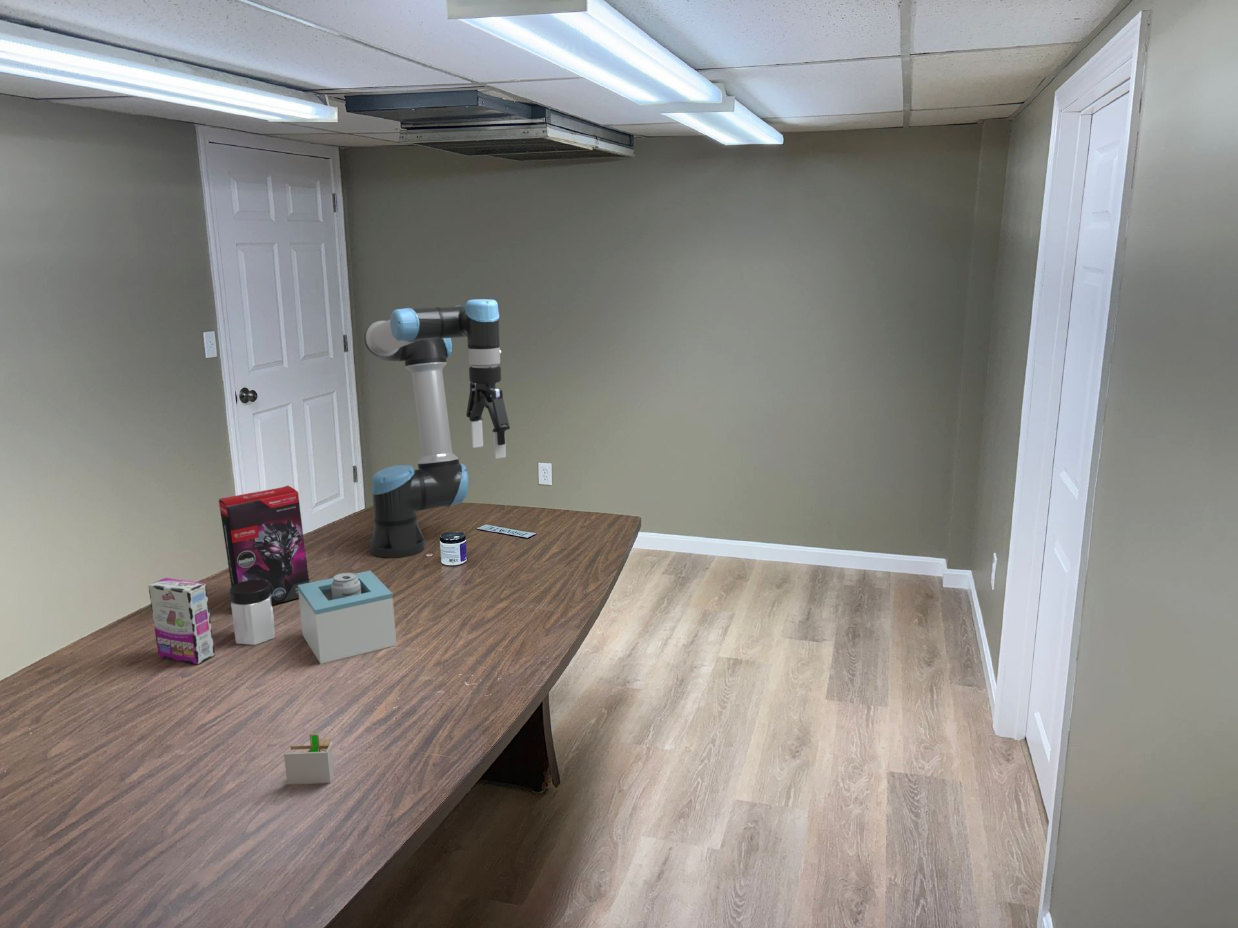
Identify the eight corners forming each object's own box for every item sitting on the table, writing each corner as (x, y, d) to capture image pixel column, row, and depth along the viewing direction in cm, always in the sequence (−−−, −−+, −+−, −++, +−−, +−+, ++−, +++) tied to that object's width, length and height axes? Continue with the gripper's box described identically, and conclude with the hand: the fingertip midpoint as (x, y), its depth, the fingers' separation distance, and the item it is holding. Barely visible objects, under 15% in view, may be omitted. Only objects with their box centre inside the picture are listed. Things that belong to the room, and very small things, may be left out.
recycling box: (302, 635, 194) (297, 585, 191) (374, 619, 202) (370, 570, 199) (320, 663, 180) (315, 610, 177) (396, 645, 189) (392, 593, 186)
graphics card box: (240, 615, 204) (226, 504, 198) (230, 606, 209) (216, 497, 203) (311, 596, 215) (301, 490, 209) (300, 588, 220) (289, 484, 214)
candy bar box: (216, 655, 185) (207, 582, 181) (198, 665, 180) (188, 591, 176) (176, 647, 188) (166, 576, 184) (157, 657, 184) (146, 584, 180)
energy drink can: (355, 633, 195) (350, 569, 191) (370, 640, 191) (365, 575, 187) (330, 641, 190) (324, 576, 187) (345, 649, 186) (340, 583, 183)
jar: (275, 642, 190) (269, 591, 187) (234, 648, 188) (228, 596, 185) (275, 626, 199) (270, 576, 196) (237, 631, 196) (230, 581, 193)
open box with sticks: (295, 772, 144) (290, 728, 142) (337, 770, 145) (332, 727, 143) (287, 786, 140) (282, 742, 138) (330, 784, 141) (326, 740, 139)
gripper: (521, 370, 199) (525, 460, 204) (478, 358, 220) (482, 440, 225) (491, 373, 195) (495, 464, 201) (450, 361, 216) (455, 444, 221)
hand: (488, 452), depth 213 cm, fingers open, 13 cm apart
